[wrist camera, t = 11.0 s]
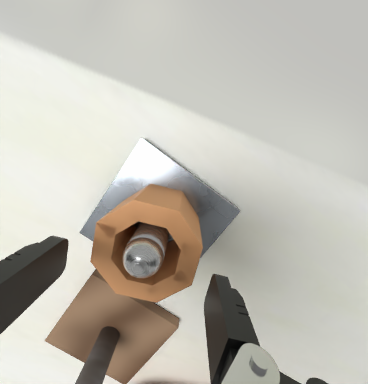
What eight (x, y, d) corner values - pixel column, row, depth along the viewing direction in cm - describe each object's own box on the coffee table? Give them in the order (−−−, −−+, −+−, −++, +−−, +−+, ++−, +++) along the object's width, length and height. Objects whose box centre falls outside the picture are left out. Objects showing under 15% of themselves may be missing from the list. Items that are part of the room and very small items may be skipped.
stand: (178, 318, 20) (173, 409, 13) (128, 374, 22) (100, 479, 15) (97, 267, 18) (43, 337, 12) (51, 331, 20) (-18, 423, 14)
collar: (204, 196, 15) (211, 218, 11) (185, 262, 17) (184, 309, 12) (128, 178, 15) (100, 191, 10) (116, 246, 17) (86, 287, 12)
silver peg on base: (237, 207, 17) (274, 252, 9) (172, 284, 19) (161, 369, 11) (144, 138, 15) (105, 129, 8) (85, 227, 17) (13, 283, 10)
